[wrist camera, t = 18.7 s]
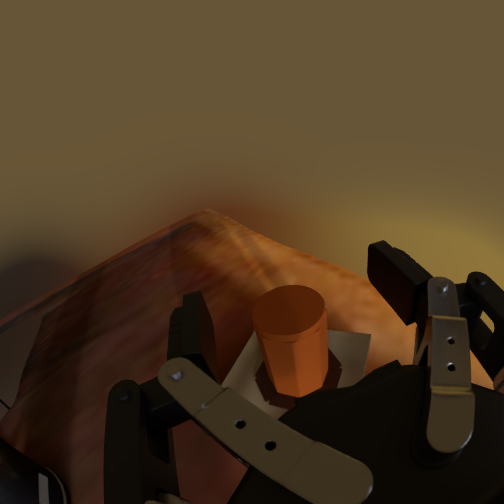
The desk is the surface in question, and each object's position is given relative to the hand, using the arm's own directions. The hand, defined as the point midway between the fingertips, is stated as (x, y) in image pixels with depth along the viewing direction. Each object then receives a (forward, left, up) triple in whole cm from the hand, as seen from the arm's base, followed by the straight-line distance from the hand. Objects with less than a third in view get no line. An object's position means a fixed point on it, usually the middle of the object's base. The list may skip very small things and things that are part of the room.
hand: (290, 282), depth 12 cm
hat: (-3, +4, -15) cm, 16 cm away
